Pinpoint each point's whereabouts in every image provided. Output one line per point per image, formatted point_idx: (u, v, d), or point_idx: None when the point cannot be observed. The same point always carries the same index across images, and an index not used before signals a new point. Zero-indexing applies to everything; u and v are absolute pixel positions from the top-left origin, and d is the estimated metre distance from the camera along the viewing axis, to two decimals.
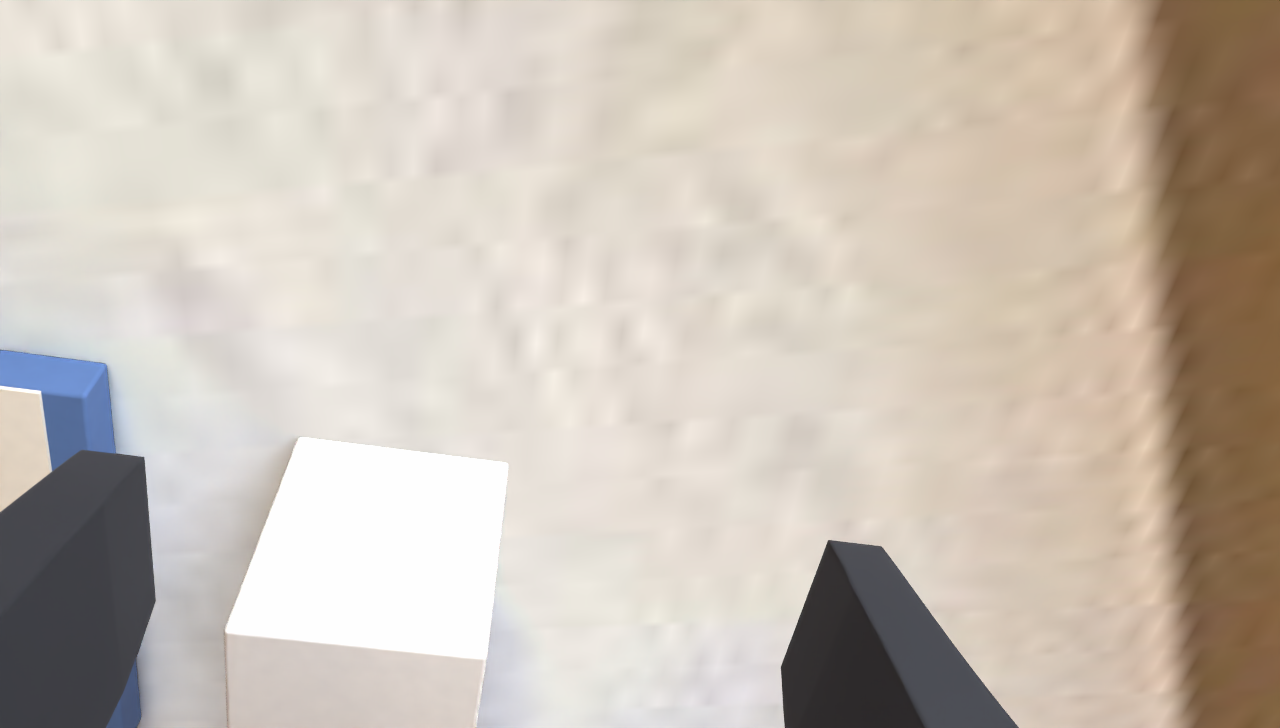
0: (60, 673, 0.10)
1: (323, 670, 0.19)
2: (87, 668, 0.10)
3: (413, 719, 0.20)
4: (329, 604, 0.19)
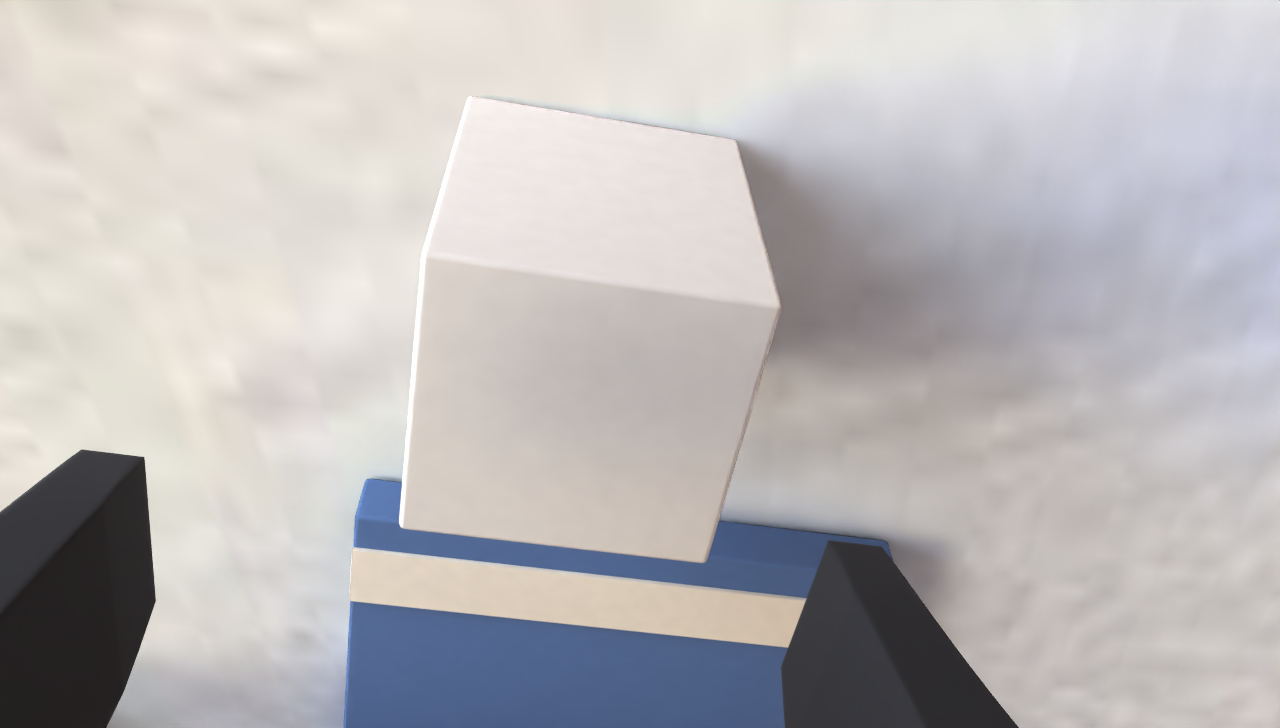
0: (60, 673, 0.10)
1: (461, 442, 0.15)
2: (87, 668, 0.10)
3: (560, 353, 0.14)
4: None
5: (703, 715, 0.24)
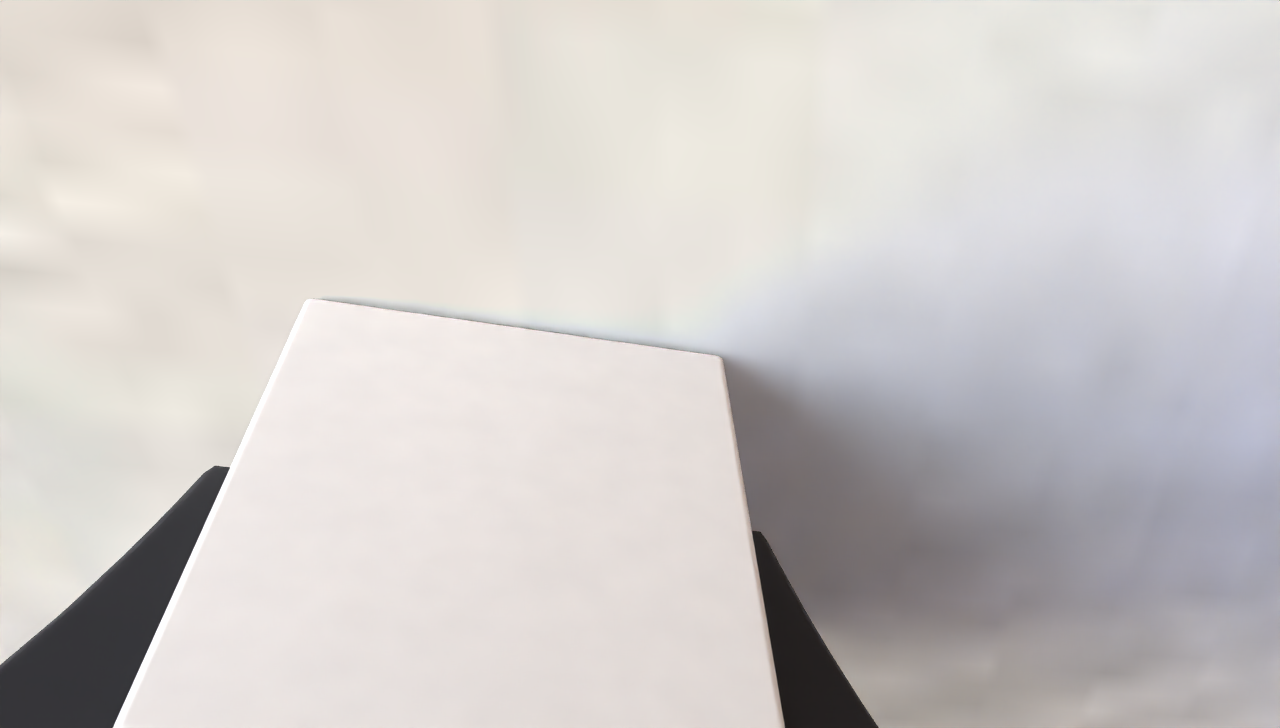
0: None
1: None
2: None
3: None
4: None
5: None
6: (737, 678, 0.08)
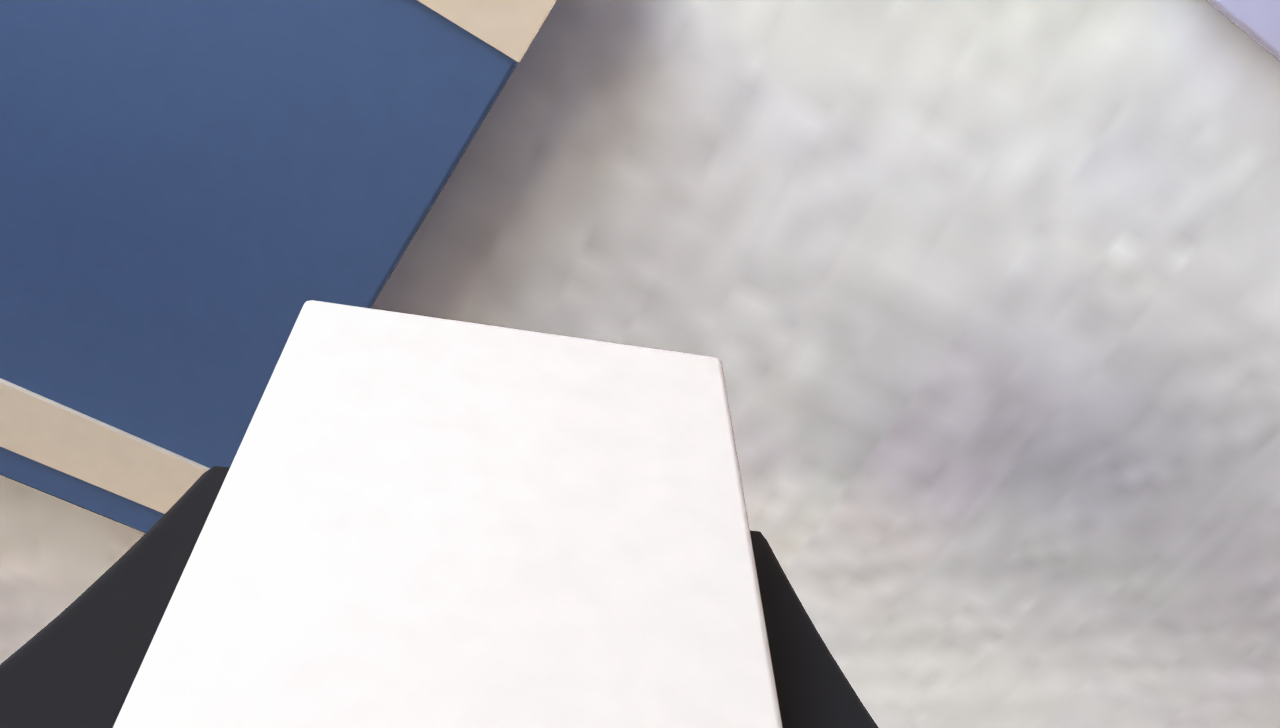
0: None
1: None
2: None
3: None
4: None
5: (250, 89, 0.16)
6: (735, 680, 0.08)
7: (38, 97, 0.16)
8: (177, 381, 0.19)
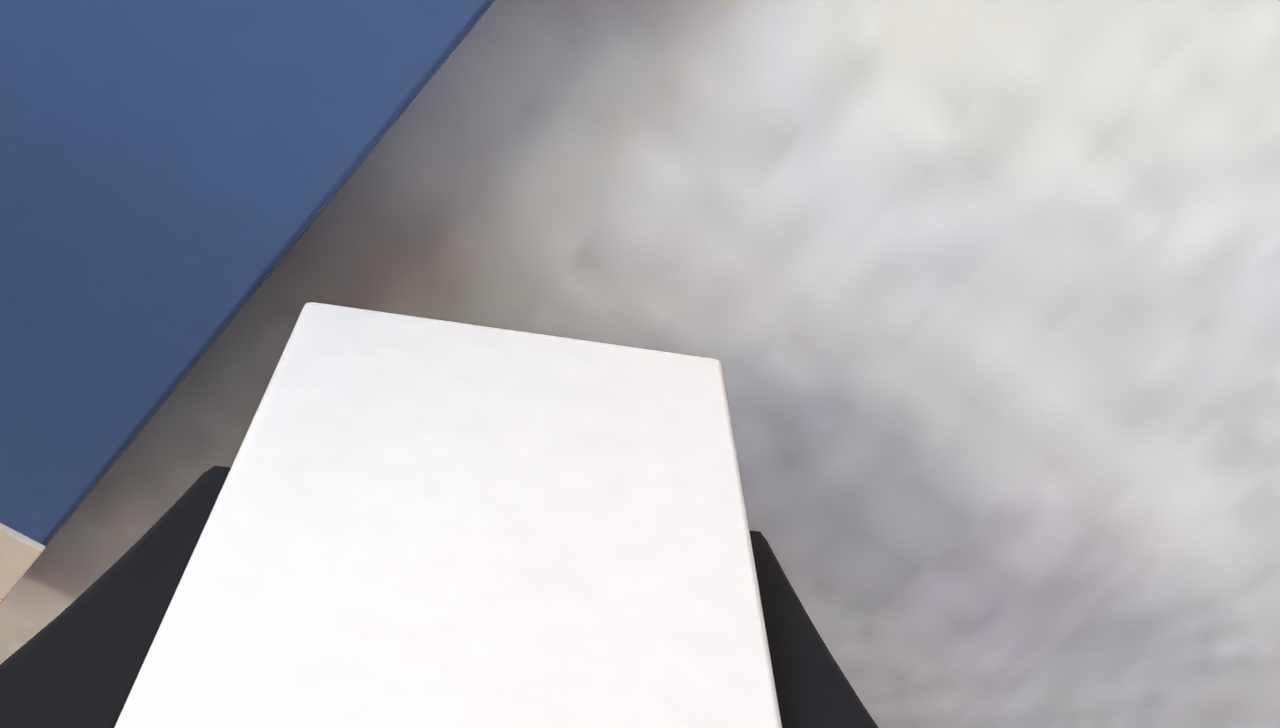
0: None
1: None
2: None
3: None
4: None
5: None
6: (735, 682, 0.08)
7: None
8: None
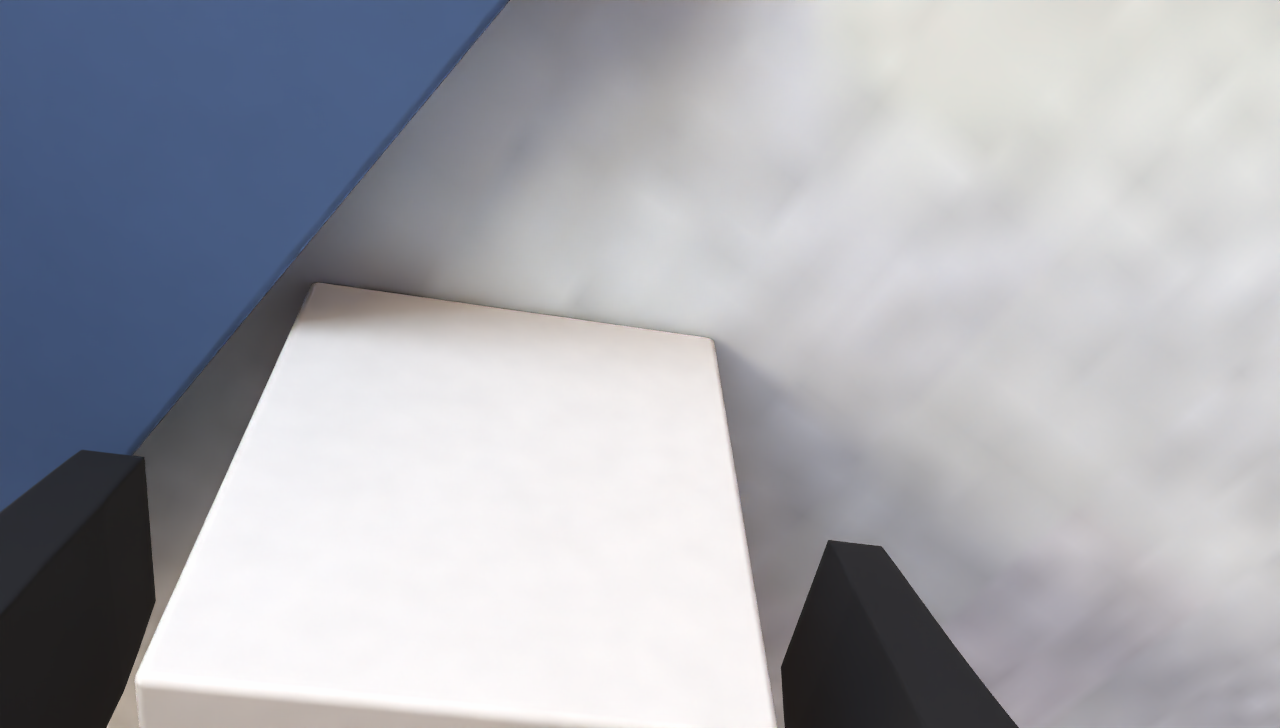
0: (60, 674, 0.10)
1: None
2: (87, 669, 0.10)
3: None
4: None
5: None
6: (725, 635, 0.09)
7: None
8: None
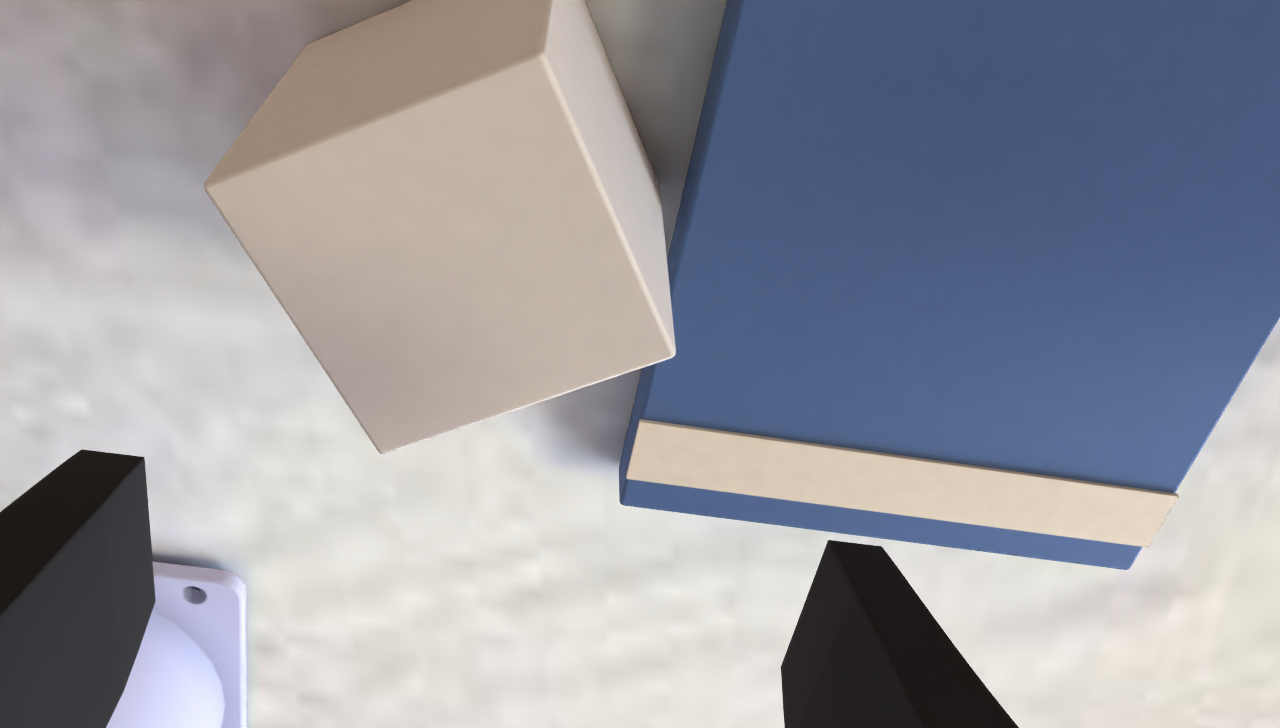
0: (60, 673, 0.10)
1: (542, 200, 0.13)
2: (87, 668, 0.10)
3: (516, 335, 0.14)
4: (596, 144, 0.14)
5: (836, 331, 0.20)
6: None
7: (1007, 267, 0.19)
8: (882, 12, 0.16)
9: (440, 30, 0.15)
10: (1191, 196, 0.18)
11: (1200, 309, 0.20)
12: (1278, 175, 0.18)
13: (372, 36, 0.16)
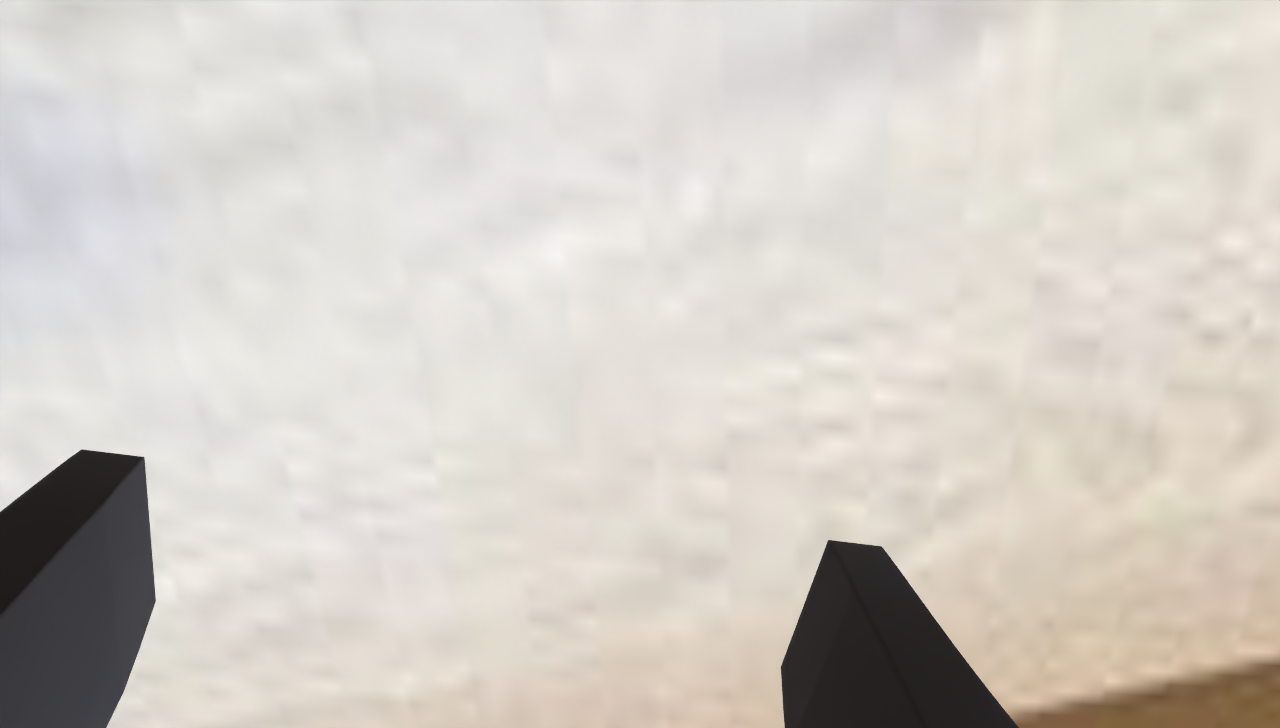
0: (59, 673, 0.10)
1: None
2: (87, 668, 0.10)
3: None
4: None
5: None
6: None
7: None
8: None
9: None
10: None
11: None
12: None
13: None
